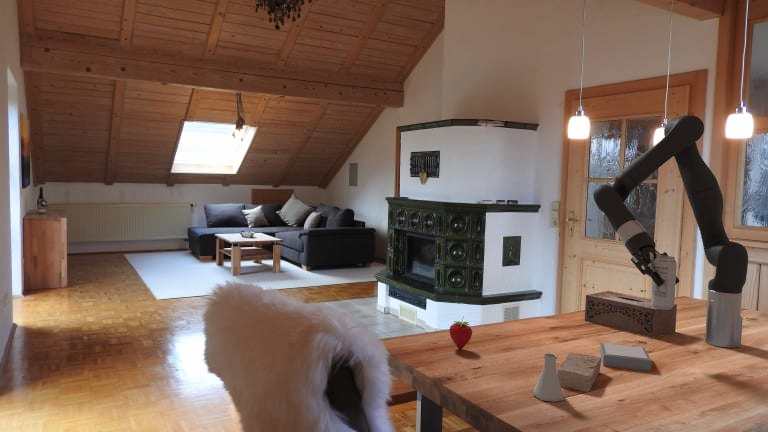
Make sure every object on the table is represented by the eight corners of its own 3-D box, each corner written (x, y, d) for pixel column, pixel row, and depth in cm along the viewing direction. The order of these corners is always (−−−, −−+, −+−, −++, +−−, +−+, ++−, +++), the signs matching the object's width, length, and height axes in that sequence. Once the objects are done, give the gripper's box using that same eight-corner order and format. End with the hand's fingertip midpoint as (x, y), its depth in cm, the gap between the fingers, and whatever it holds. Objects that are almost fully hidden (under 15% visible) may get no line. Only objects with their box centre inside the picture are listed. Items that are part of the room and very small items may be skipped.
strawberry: (457, 344, 166) (458, 312, 166) (476, 350, 160) (477, 317, 160) (444, 347, 162) (445, 315, 162) (463, 354, 157) (464, 320, 156)
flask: (528, 390, 130) (529, 350, 129) (557, 390, 131) (558, 350, 130) (539, 403, 123) (541, 360, 122) (569, 402, 123) (571, 360, 123)
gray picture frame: (644, 357, 157) (644, 347, 156) (650, 371, 145) (651, 359, 145) (600, 352, 160) (600, 342, 160) (603, 365, 149) (603, 354, 149)
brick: (590, 393, 130) (591, 374, 130) (554, 386, 134) (555, 367, 134) (601, 373, 144) (601, 356, 144) (568, 367, 148) (569, 350, 148)
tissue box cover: (584, 321, 198) (585, 294, 197) (607, 316, 206) (608, 290, 206) (653, 339, 177) (655, 309, 177) (675, 332, 186) (676, 304, 185)
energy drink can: (678, 309, 154) (682, 258, 153) (661, 310, 152) (664, 258, 151) (663, 304, 160) (666, 255, 159) (646, 305, 158) (649, 255, 157)
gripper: (627, 231, 158) (661, 278, 148) (659, 230, 164) (694, 275, 155) (611, 246, 163) (643, 293, 153) (643, 245, 170) (676, 289, 160)
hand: (669, 283), depth 154 cm, fingers closed on energy drink can, 6 cm apart
